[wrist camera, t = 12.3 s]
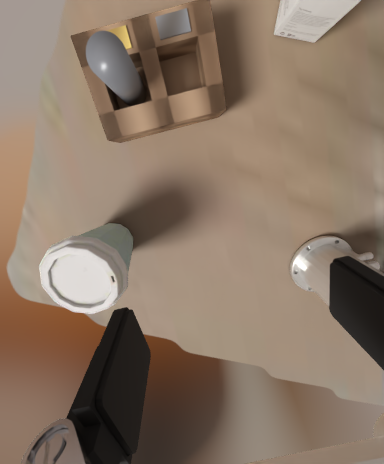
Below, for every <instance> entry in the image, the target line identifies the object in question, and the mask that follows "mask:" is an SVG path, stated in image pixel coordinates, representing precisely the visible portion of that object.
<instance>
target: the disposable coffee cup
mask: <svg viewBox="0 0 384 464" xmlns="http://www.w3.org/2000/svg"><path fill="white" fill-rule="evenodd" d="M132 249H133V237H132V235H131V233H130V231H129V230H128V229H127V228H126V227H124V226H122V225H121V224H115V223H108V224H106V225H103V226H101V227H98V228H96V229H94V230H91V231H89V232H86V233H84V234H81V235H79V236H70V237H68V238H66V239H64V240H62V241H59V242H57V243H55V244H53V245H52V246H51V247H50V248H49V249H48V250H47V252H46V254H45V256H44V258H43V259H42V261H41V263H40V265H39V270H40V276H41V283H42V286H43V288H44V289H45V290H46V292H47V293H48V294H49V295H50V297H51V298H52V299H53V300H54V301H55V303H57V304H59V305H61V306H63V307H65V308H67V309H69V310H71V311H73V312H80V313H89V314H94V313H97V312H99V311H102V310H105V309H108V308H109V307H110V306H113V305H115V303H116V302H117V301H118V300H119V298H120V297H121V295H122V294H123V293H124V291H125V290H126V289H127V287H128V270H129V265H130V260H131V255H132Z"/></svg>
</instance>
